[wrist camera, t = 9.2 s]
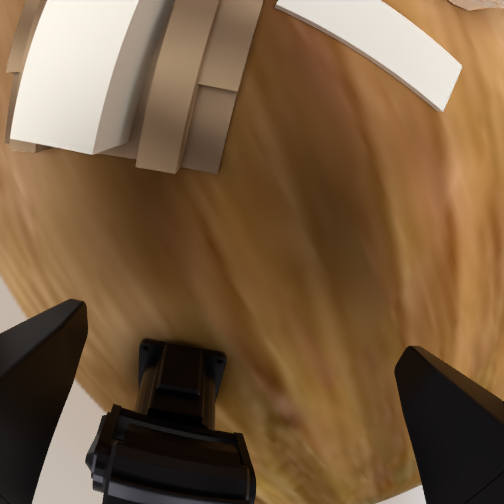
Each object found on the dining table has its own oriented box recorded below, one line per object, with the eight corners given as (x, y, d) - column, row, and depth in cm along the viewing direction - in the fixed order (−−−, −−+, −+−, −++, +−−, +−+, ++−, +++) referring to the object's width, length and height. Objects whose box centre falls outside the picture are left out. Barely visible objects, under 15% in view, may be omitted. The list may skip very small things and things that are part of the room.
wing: (432, 110, 17) (442, 111, 16) (273, 10, 14) (276, 4, 13) (451, 66, 16) (462, 66, 15) (301, -35, 13) (305, -42, 12)
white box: (128, 142, 16) (88, 156, 11) (59, 128, 15) (4, 140, 10) (197, -49, 11) (188, -99, 6) (125, -55, 10) (95, -97, 5)
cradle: (217, 171, 18) (216, 182, 15) (13, 141, 15) (-14, 148, 13) (284, -64, 12) (293, -87, 9) (76, -72, 9) (59, -89, 6)
